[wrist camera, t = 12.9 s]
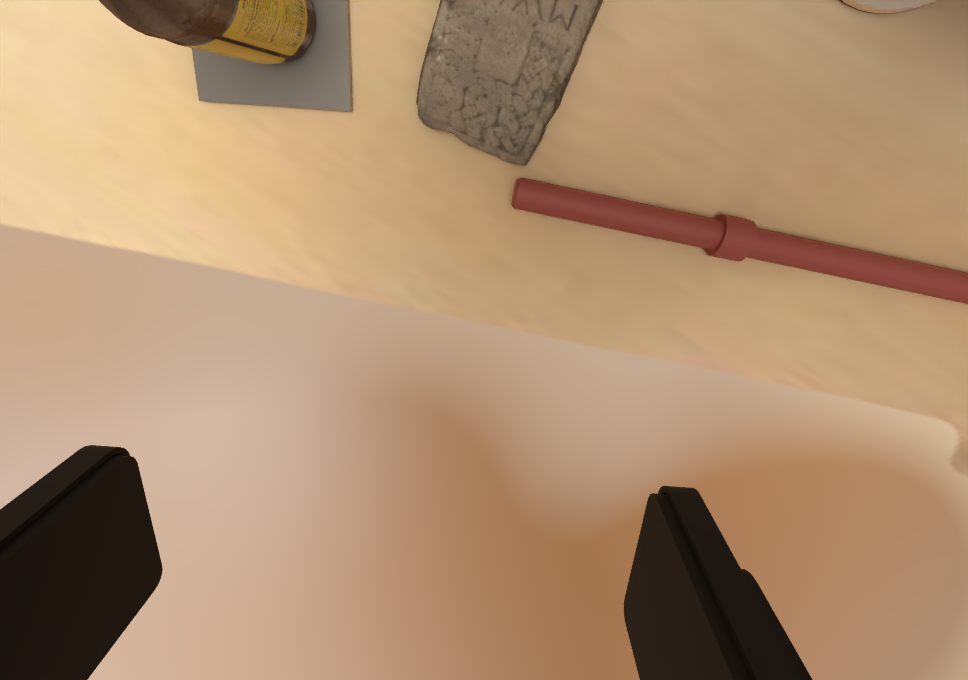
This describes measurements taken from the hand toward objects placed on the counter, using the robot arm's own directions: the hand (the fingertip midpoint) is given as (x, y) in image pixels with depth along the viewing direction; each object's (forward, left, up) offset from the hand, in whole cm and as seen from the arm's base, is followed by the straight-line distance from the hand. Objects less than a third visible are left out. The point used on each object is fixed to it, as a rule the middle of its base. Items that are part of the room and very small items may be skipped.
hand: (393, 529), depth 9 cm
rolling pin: (-25, 0, -34) cm, 42 cm away
